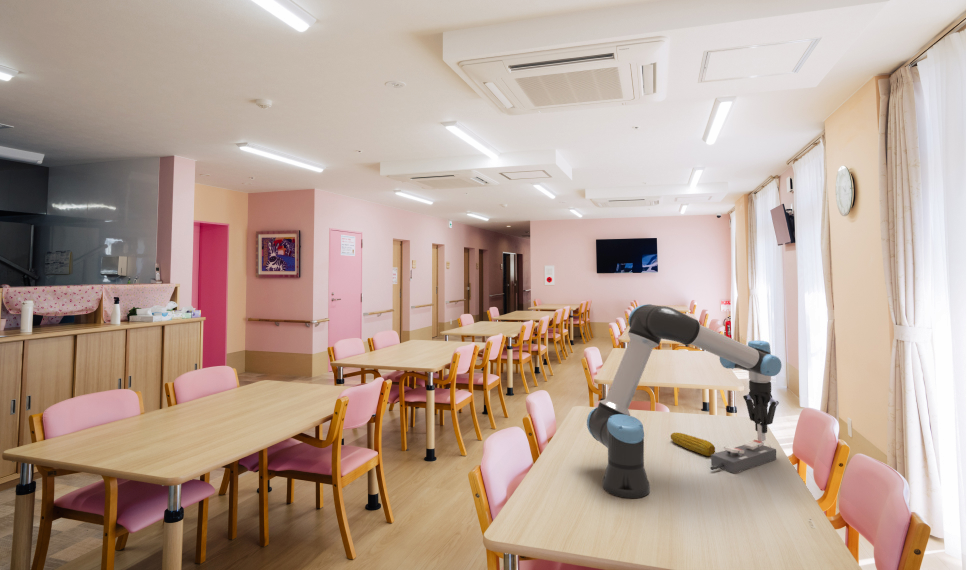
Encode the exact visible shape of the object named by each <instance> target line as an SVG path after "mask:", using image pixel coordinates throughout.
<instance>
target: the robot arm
mask: <svg viewBox="0 0 967 570" xmlns="http://www.w3.org/2000/svg"><path fill="white" fill-rule="evenodd" d="M628 325H629V330H628V332H627V335H628V337H629V341H628V344H627V346H626V348H625V350H624V354H623V355H622V358H621V361H620V363H619V365H618V368H617V369H616V370H617V371H616V372H615V375H614V377H613V380H612V382H611V385H610V387H609V390H608V392H607V395H606V397H605V399H601V400H600V401H598V402H599V403H598V405H597V407H595V408H593V409H592V410H590V412H589V414H588V415H587V418H586V427H587V430H588V432H589V434H590V435H591V436H592V437H593V439H595V440H596V441H597V442H599V443H601V444H602V445H603V446H605V448H607V465H606V469H605V473H604V475H603V478H602V487H603V489H604V490H605V492H607V493H608V494H611V495H613V496H615V497H620V498H626V499H638V498H639V499H640V498H644V497H645V496H648V495H649V494H650V487H651V485H650V482H649V479H648V475H647V473H646V469H645V453H644V452H645V447H644V445H645V443H644V441H645V440H644V438H645V431H644V424H643V423H642V422H641V420H640V419H638V418H637V417H635V416H632V415H631V414H630V413H631V412H630V410H629V408H630V405H631V402H632V400H633V398H634V397H635V396H634V395H635V393H636V391H637V389H638V386H639V384H640V381H641V378H642V376H643V373H644V371H645V368H646V366H647V364H648V361H649V360H650V359H649V358H650V357H651V354H652V351H653V349H654V348H657V347H659V345H660V343H661V341H662V340H667V341H673V342H677V343H680V344H683V345H684V346H690V345H691V346H694V347H695V348H699V349H701V350H704V351H706V352H708V353H711V354H714V355H715V356H717V357H719V362H720V364H721V366H722V367H723V368H725V369H732V370H733V369H740V370H743V371H747V372H748V379H749V381H748V389H749V392H748V394H745V395H743V396H742V397H743V400H744V401H745V403H746V404H745V405H746V407H747V412H748V416H749V420H750V421H751V422H753V423H754V424H755V425H754V426H755V431H756V432H757V433H756V434H757V440H758V441H761V442H765V441H766V439H767V438H766V434H767V433H768V426H769V425H771V424H773V422H774V418H775V414H776V410H777V406H778V405H779V403H780V402H779V401H778V400H775V399H774V398H773V395H772V382H771V381H772V377H775V376H777V375H779V373H780V372H781V370H782V366H783V365H782V361H781V359H780V358H779V357H778V356H776V355H773V354H772V352H771V344H770V343H769V342H768V341H764V340H750V341H748V342H747V344H745V343H742V342H740V341H738V340H736V339H733V338H731V337H729V336H727V335H724V334H723V333H720V332H717V331H716V330H713V329H711V328H708V327H707V326H704V325H702V324H701V323H700V321H699V320H697V319H696V318H694V317H692V316H689V315H687V314H686V313H684V312H682V311H679V310H678V309H675V308H674V307H673V308H672V307H670V306H665V305H655V304H650V303H649V304H648V303H647V304H641V305H638V306H635V308H633V309H632V311H631V312H630V314H629V316H628Z"/></svg>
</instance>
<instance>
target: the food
mask: <svg viewBox="0 0 967 570" xmlns="http://www.w3.org/2000/svg"><path fill="white" fill-rule="evenodd" d="M670 439H671V441H672V442H673V443H674V444H676V445H678V446H680V447H682V448H684V449H686V450H689V451H692V452H695V453H698V454H700V455H703V456H707V457H711V454H714V453H716V447H715V444H713V443H712V442H711V441H708V440H706V439H703V438H699V437H696V436H693V435H689V434H686V433H682V432H672V433H671V434H670Z"/></svg>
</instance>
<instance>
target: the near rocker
mask: <svg viewBox="0 0 967 570" xmlns="http://www.w3.org/2000/svg"><path fill="white" fill-rule="evenodd" d="M723 447H724V448H723V451H725V450H727V451H730V452H733V453H743V454H744V451H743V450H741V449H738V448H735V447H729V446H728V447H727V446H723Z"/></svg>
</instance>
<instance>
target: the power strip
mask: <svg viewBox="0 0 967 570" xmlns="http://www.w3.org/2000/svg"><path fill="white" fill-rule="evenodd" d="M734 448H738V449H741V450H743V451H744V454H743V453H733V452H730V451H727V450H721V451H718V452H715V453H714V454H711V456H710V457H711V458H710V459H711V461H710V462H711V466H710V467H709V468H710V471H714V470H717V469H721V470H723V471H726V472H729V473H732V474H736V473H739V472H743V471H746V470H749V469H752V468H755V467H758V466H761V465H764V464H766V463H767V464H768V463H769V462H773V461H775V460H777V448H775V447H771V446H767V445H765V444H764V445H762V446H760V447H758V448H755V449H753V450H752V449H749V448H746V447H744V444H743V445H739V446H735V447H734Z"/></svg>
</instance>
